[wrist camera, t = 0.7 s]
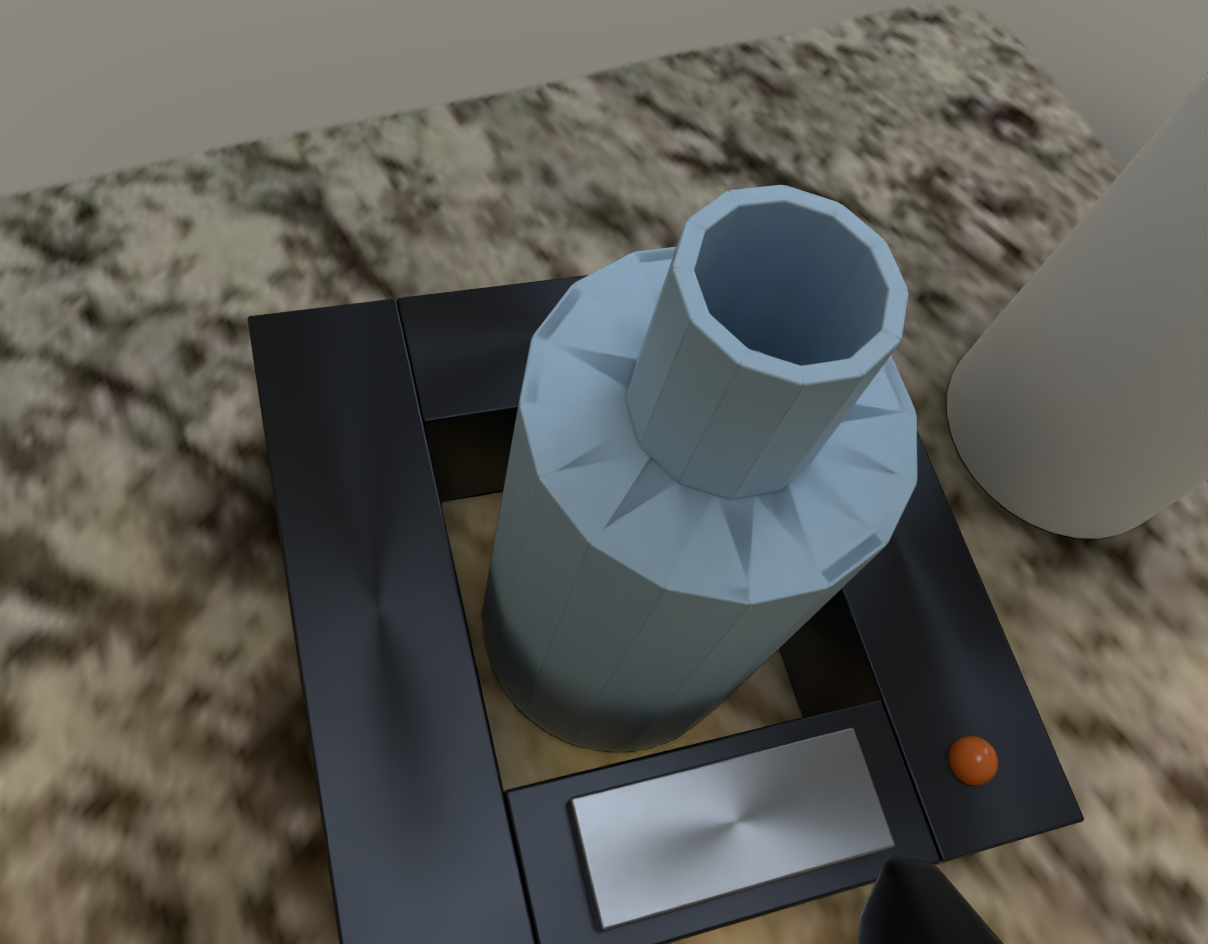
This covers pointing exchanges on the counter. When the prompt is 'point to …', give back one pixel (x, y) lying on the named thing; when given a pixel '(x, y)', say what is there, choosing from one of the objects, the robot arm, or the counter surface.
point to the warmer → (626, 789)
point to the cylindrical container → (1103, 354)
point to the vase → (697, 466)
